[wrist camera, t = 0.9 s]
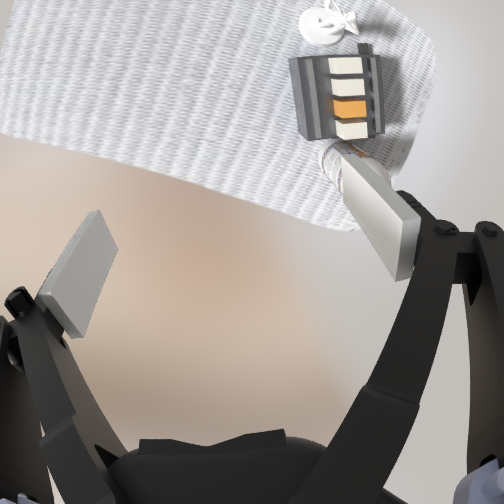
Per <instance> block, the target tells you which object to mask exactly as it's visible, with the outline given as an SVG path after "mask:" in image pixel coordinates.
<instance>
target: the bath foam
mask: <svg viewBox="0 0 504 504" xmlns="http://www.w3.org/2000/svg"><path fill="white" fill-rule="evenodd" d="M348 154H355V155H357V156H358V157H359V158H360V159H361V160H362V161H363V162H364V163H366V164H367V165H368V166H369V167H370V168H371V169H372V170H373V171H374V172H375V173H377V174H378V175H379V176H380V177H381V178H382V179H383V180H384V181H385V182H386V183H387V184H388V185H389V186H390V187H391V179H390V176H389V174H388V172H387V170H386V169H385V167H384V166H383V165H382V164H381V163H380V162H379V161H377V160H376V159H375V158H373V157H372V156H371V155H369V154H368V153H366V152H365V151H363V150H362V149H361V148H359V147H358V146H356V145H355V144H353V143H352V142H350V141H349V140H343V139H342V138H334V139H331V140H329V141H327V142H326V143H325V144H324V145H323V146H322V147H321V149H320V151H319V155H318V162H319V166H320V168H321V170H322V171H323V172H324V173H325V174H326V176H327V177H328V178H329V179H330V180H331V182H332V183H333V184H334V185H335V186H336V188H337V189H338V190H339V191H340V193H341V194H342V195H343V182H342V166H341V155H348Z"/></svg>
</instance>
